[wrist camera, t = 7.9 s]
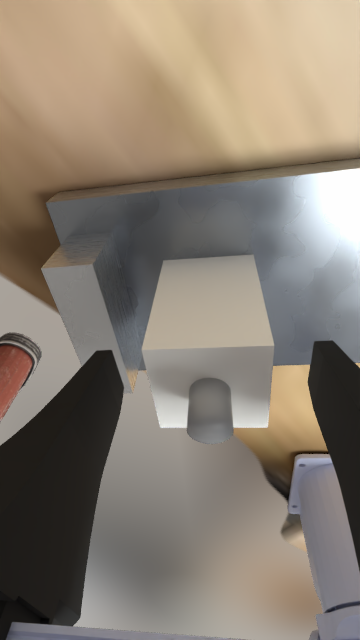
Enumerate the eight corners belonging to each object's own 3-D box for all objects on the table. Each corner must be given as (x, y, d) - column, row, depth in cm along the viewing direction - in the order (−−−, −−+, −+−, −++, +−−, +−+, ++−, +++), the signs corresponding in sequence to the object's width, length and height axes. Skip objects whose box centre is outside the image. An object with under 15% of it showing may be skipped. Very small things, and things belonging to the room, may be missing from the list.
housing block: (251, 326, 17) (273, 466, 11) (174, 329, 17) (155, 465, 11) (253, 254, 14) (283, 384, 9) (163, 260, 15) (132, 387, 9)
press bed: (587, 334, 17) (684, 402, 14) (112, 354, 21) (92, 413, 17) (762, 112, 11) (1010, 133, 8) (58, 191, 15) (10, 230, 11)
